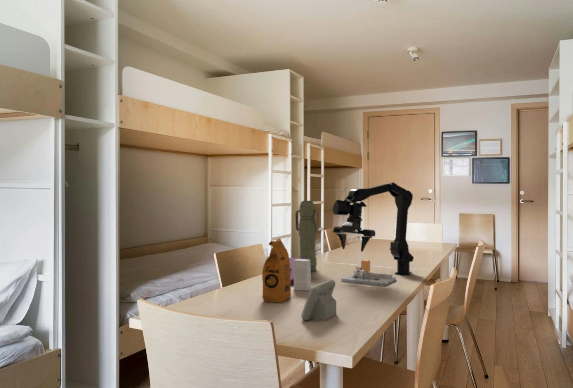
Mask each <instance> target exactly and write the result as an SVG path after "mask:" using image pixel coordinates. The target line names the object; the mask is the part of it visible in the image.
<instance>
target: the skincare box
mask: <svg viewBox="0 0 573 388" xmlns="http://www.w3.org/2000/svg"><path fill="white" fill-rule="evenodd" d="M293 263H294V283H293V290H295V291H306V292H307V291H308V292H309V291H310V289H311V288H312V285H311V284H312V275H311V273H312V271H311V263H310V260H306V259H296V260H294V261H293Z"/></svg>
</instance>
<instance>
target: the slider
mask: <svg viewBox="0 0 573 388" xmlns="http://www.w3.org/2000/svg"><path fill="white" fill-rule="evenodd" d="M360 266H361V271H360V277H363V275H362V273H365V272H371V260H370V259H362V260H360Z"/></svg>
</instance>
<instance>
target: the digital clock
mask: <svg viewBox="0 0 573 388" xmlns="http://www.w3.org/2000/svg"><path fill="white" fill-rule="evenodd" d="M335 287H336V281H335V280H334V279H328V280H325V281H322V282H320V283H318V284H315V285H313V286H311V289H310V290H308V294H307V298H306V300H305V303H304V306H303V309H302V312H301V315H300V318H301V319H302V321H309V320H315V321H320V322H321V321H323V322H325V321H327V320H328V319H330V318H332V317H333V316H335V315H337V301H336V299H335V298H334V296H333V292H334V290H335Z"/></svg>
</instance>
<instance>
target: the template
mask: <svg viewBox="0 0 573 388" xmlns="http://www.w3.org/2000/svg"><path fill="white" fill-rule="evenodd" d="M360 271H361V265H356V266H355V270H353V274H350V275H347V276H345V277H342V278H341V279H340V280H341V281H340V282H343V283H351V284H352V283H353V284H360V285H361V284H364V285H373V286H380V285H382V287H387V286H388V285H391V284H392V283H394V282H395V280H396V281H397V277H395V276H393V273H385V272H384V273H383V272H374V271H369V272H365V273H362V275H363V277H360ZM393 281H394V282H393Z"/></svg>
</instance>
